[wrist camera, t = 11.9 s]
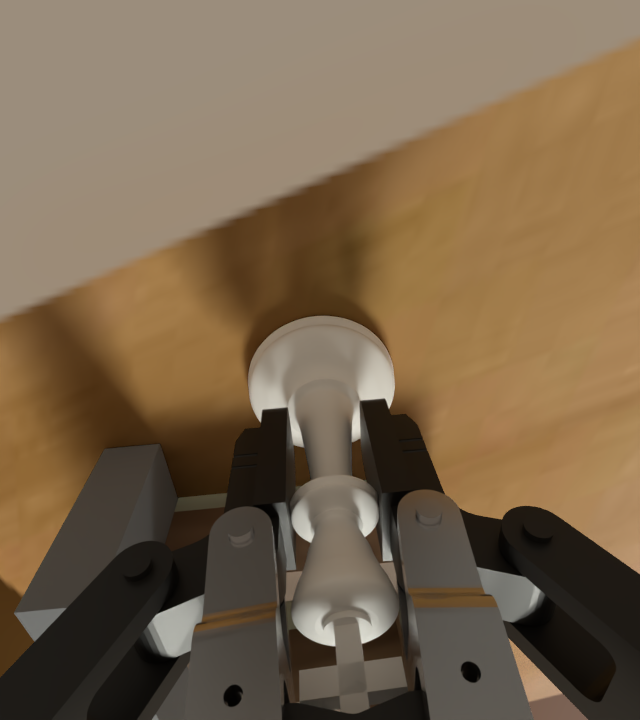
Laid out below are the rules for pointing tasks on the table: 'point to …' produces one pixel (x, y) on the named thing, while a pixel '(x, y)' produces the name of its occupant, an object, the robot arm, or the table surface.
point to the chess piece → (333, 501)
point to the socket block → (196, 523)
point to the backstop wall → (106, 540)
